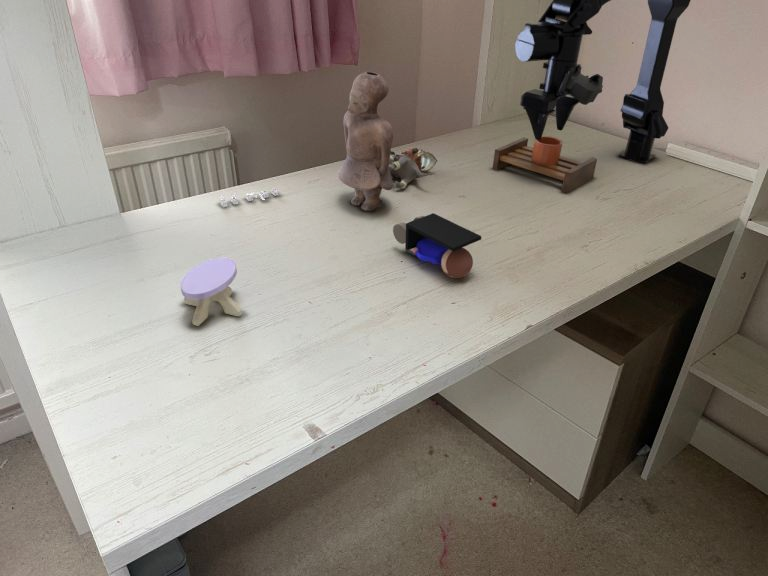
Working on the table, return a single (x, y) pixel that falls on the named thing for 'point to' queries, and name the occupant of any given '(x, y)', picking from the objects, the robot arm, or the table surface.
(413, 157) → the figurine
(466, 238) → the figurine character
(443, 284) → the table surface
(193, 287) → the toy table
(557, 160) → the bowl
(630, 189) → the table surface
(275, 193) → the figurines set
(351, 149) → the clay figurine
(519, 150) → the rack
